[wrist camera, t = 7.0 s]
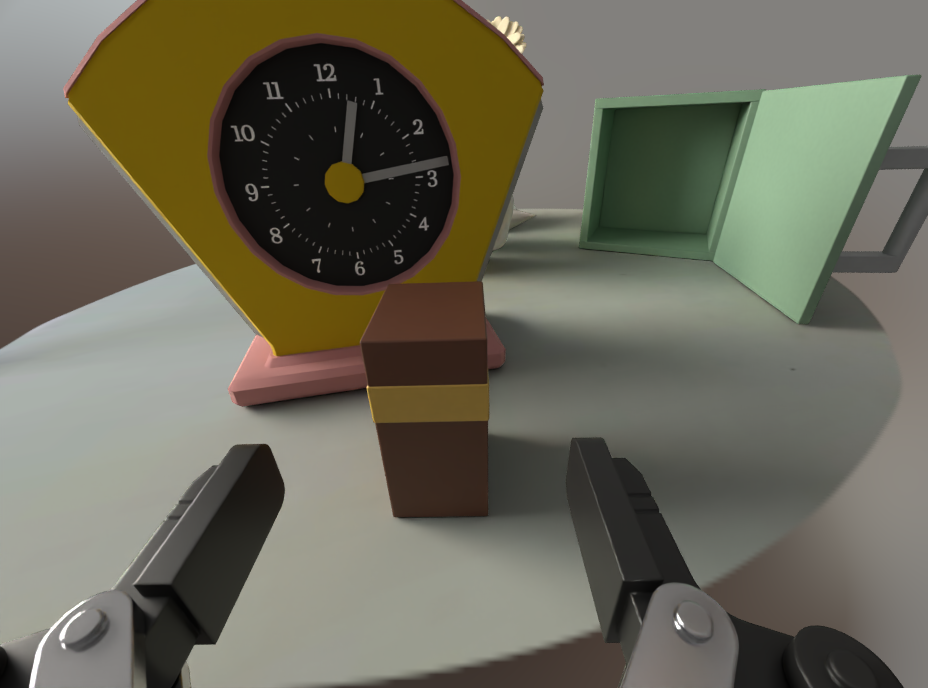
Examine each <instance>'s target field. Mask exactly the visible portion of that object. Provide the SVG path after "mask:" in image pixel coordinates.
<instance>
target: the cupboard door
mask: <svg viewBox="0 0 928 688" xmlns="http://www.w3.org/2000/svg"><path fill="white" fill-rule="evenodd" d="M920 78H921V75H906V76H897V77H888V78H879V79H869V80H860V81H851V82H842V83H832V84H824V85H814V86H805V87H796V88H787V89H779V90H768V91H763V92H762V95H761V99H760V102H759V105H758V109H757V112H756V116H755V119H754V123H753V126H752V129H751V133H750V136H749V140H748V143H747V147H746V150H745V153H744V157H743V160H742V164H741V167H740V171H739V174H738V177H737V181H736V184H735V188H734V191H733V195H732V198H731V201H730V205H729V208H728V212H727V215H726V219H725V222H724V225H723V229H722V232H721V236H720V239H719V243H718V246H717V249H716V253H715V256H714V260H713V262H714V263H715V264H717V265H718V266H719V267H721V268H722V269H724V270H725V271H726V272H728V273H729V274H730V275H732V276H733V277H734V278H736V279H737V280H739V281H740V282H741V283H743V284H744V285H745V286H747V287H748V288H750V289H751V290H752V291H754V292H755V293H756V294H758V295H759V296H760V297H762V298H763V299H765V300H766V301H767V302H769V303H770V304H771V305H773V306H774V307H776V308H777V309H778V310H780V311H781V312H782V313H784V314H785V315H787V316H788V317H789V318H791V319H792V320H793V321H795V322H796V323H798V324H809V322H810V320H811V318H812V316H813V314H814V311H815V309H816V307H817V305H818V303H819V300H820V298H821V296H822V294H823V292H824V289H825V287H826V285H827V283H828V281H829V278H830V276H831V274H832V272H866V273H867V272H868V273H869V272H870V273H873V272H874V273H875V272H876V273H877V272H878V273H892V272H897V271H898V269H899V267H900V265H901V263H902V262H903V260H904V258H905V256H906V254H907V252H908V250H909V249H910V247H911V245H912V243H913V241H914V239H915V237H916V236H917V234H918V232H919V230H920V228H921V226H922V224H923V223H924V221H925V219H926V217H927V215H928V146H912V147H889V146H890V144H891V142H892V140H893V138H894V136H895V133H896V131H897V129H898V127H899V125H900V122H901V120H902V118H903V116H904V114H905V111H906V109H907V107H908V105H909V102H910V100H911V98H912V96H913V94H914V91H915V89H916V87H917V85H918V83H919V81H920ZM885 169H924V171H923V173H922V175H921V177H920V179H919V181H918V183H917V184H916V186H915V188H914V190H913V192H912V194H911V196H910V198H909V201H908V202H907V204H906V206H905V208H904V210H903V212H902V214H901V216H900V218H899V220H898V222H897V224H896V226H895V228H894V230H893V232H892V234H891V236H890V238H889V240H888V242H887V244H886V246H885V247H884V250H883V251H882V252H842V250H843V248H844V245H845V243H846V241H847V239H848V237H849V234H850V232H851V230H852V228H853V226H854V223H855V221H856V219H857V217H858V215H859V212H860V210H861V208H862V206H863V204H864V201H865V199H866V197H867V195H868V193H869V191H870V188H871V186H872V184H873V182H874V179H875V177H876V175H877V173H878V171H879V170H885Z"/></svg>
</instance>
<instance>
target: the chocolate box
mask: <svg viewBox="0 0 928 688" xmlns="http://www.w3.org/2000/svg"><path fill="white" fill-rule="evenodd" d="M360 347H361V352H362V357H363V362H364V368H365V373H366V378H367V383H368V385H367V392H368V398H369V403H370V408H371V413H372V418H373V422H374V423H375V424H376V429H377V435H378V440H379V445H380V450H381V455H382V460H383V465H384V471H385V476H386V481H387V486H388V491H389V496H390V501H391V507H392V512H393V516H394V517H447V516H488V420H489V375H488V353H487V329H486V317H485V305H484V293H483V283H482V282H481V281H475V282H441V283H407V284H388V286H387V288H386V290H385V292H384V294H383V296H382V298H381V300H380V302H379V304H378V306H377V308H376V310H375V312H374V314H373V316H372V318H371V320H370V322H369V324H368V326H367V328H366V330H365V332H364V334H363V336H362V338H361V341H360Z"/></svg>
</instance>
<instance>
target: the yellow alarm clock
mask: <svg viewBox="0 0 928 688" xmlns="http://www.w3.org/2000/svg"><path fill="white" fill-rule="evenodd" d="M542 85H544V83H543V77H542V76H541V75H540V74H539V73H538V72H537V71H536V69H535V68H534V67H533V66H532V65H531V64H530V63H529V62H528V61H527V59H526V58H525V57H524V56H523V55H522V54H521V53H520V51H519V50H518V49H517V48H516V47H515V46H514V45H513V44H512V42H511V41H510V40H509V39H508V38H507V37H506V36H505V35H504V34H503V33H502V32H501V31H499V30H498V29H497V28H496V27H494V26H493V25H492V24H491V23H489V22H488V21H487V20H486V19H484V18H483V17H482V16H480V15H479V14H478V13H477V12H475V11H474V10H473V9H472V8H470V7H469V6H468V5H466V4H465V3H464V2H463V1H462V0H137V1H136V2H135V3H134V4H133V5H131V6H130V7H129V8H128V9H127V10H126V11H125V12H124V13H122V14H121V16H119V17H118V18H117V19H116V20H115V21H114V22H113V23H112V24H110V25H109V26H108V27H107V28H106V29H105V30H104V31H103V32H102V33H101V34H99V35H98V37H97V38H96V40H95V41H94V43H93V44H92V46H91V47H90V49H89V50H88V52H87V54H86V55H85V56H84V58H83V59H82V61H81V62H80V64H79V65H78V67H77V68H76V70H75V71H74V73H73V74H72V76H71V77H70V79H69V81H68V82H67V83H66V85H65V86H64V88H63V90H64V94H65V98H69V100H68V104H69V106H70V107H71V108H72V109H73V110H74V112H75V113H76V114H77V117H78V122H79V126H80V127H81V128H82V129H83V130H84V132H85V133H86V134H87V135H88V136H89V138H90V139H91V140H92V141H93V142H94V143H95V145H96V146H97V147H98V148H99V149H100V150H101V152H102V153H103V154H104V155H105V156H106V158H107V159H108V160H109V161H110V162H111V164H112V165H113V166H114V167H115V168H116V169H117V171H118V172H119V173H120V174H121V175H122V177H123V178H124V179H125V180H126V181H127V182H128V184H129V185H130V186H131V187H132V188H133V189H134V191H135V192H136V193H137V194H138V195H139V197H140V198H141V199H142V200H143V201H144V203H145V204H146V205H147V206H148V207H149V208H150V210H151V211H152V212H153V213H154V214H155V215H156V217H157V218H158V219H159V220H160V222H161V223H162V224H163V225H164V226H165V227H166V229H167V230H168V231H169V232H170V233H171V235H172V236H173V237H174V238H175V239H176V240H177V242H178V243H179V244H180V245H181V246H182V248H184V250H185V251H186V252H187V253H188V255H189V256H190V257H191V258H192V259H193V260H194V261H195V263H196V264H197V265H198V266H199V268H200V269H201V270H202V271H203V272H204V274H205V275H206V276H207V277H208V278H209V279H210V281H211V282H212V283H213V284H214V285H215V287H216V288H217V289H218V290H219V291H220V292H221V294H222V295H223V296H224V297H225V298H226V300H227V301H228V302H229V303H230V304H231V305H232V307H233V308H234V309H235V310H236V311H237V313H238V314H239V315H240V316H241V317H242V318H243V320H244V321H245V322H246V323H247V324H248V326H249V327H250V328H251V329H252V330H253V332H254V333H255V334H256V336H255V338H254V340H253V342H252V343H251V345H250V347H249V349H248V351H247V353H246V355H245V357H244V359H243V361H242V363H241V365H240V366H239V368H238V370H237V372H236V374H235V376H234V378H233V380H232V382H231V384H230V386H229V388H228V391H229V394H230V397H231V399H232V402H233V403H235V404H237V405H240V406H242V407H243V406H250V405H257V404H263V403H270V402H276V401H283V400H290V399H296V398H303V397H309V396H316V395H323V394H329V393H336V392H342V391H349V390H356V389H362V388H367V385H368V383H367V378H366V373H365V368H364V362H363V357H362V352H361V347H360V341H361V338H362V336H363V334H364V332H365V330H366V328H367V326H368V324H369V322H370V320H371V318H372V316H373V314H374V312H375V310H376V308H377V306H378V304H379V302H380V300H381V298H382V296H383V294H384V292H385V290H386V288H387V286H388V284H407V283H441V282H475V281H481V282H482V279H483V276H484V273H485V270H486V267H487V265H488V262H489V259H490V256H491V253H492V251H493V248H494V245H495V242H496V239H497V237H498V234H499V231H500V228H501V225H502V222H503V220H504V217H505V214H506V211H507V208H508V206H509V203H510V200H511V197H512V194H513V192H514V189H515V186H516V183H517V180H518V177H519V175H520V172H521V169H522V166H523V163H524V161H525V157H526V155H527V152H528V149H529V146H530V144H531V141H532V138H533V135H534V132H535V130H536V126H537V124H538V121H539V118H540V116H541V113H542V110H543V106H542V101H541V96H542V93H543V89H542ZM486 329H487V353H488V369H494V368H499V367H500V366H501V365H502V364H503V363H504V362H505V353H506V349H505V347H504V346H503V344H502V343H501V341H500V339H499V338H498V336H497V334H496V333H495V331H494V330H493V328H492V326H491V325H490V323H489V322H488V320H487V318H486Z"/></svg>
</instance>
